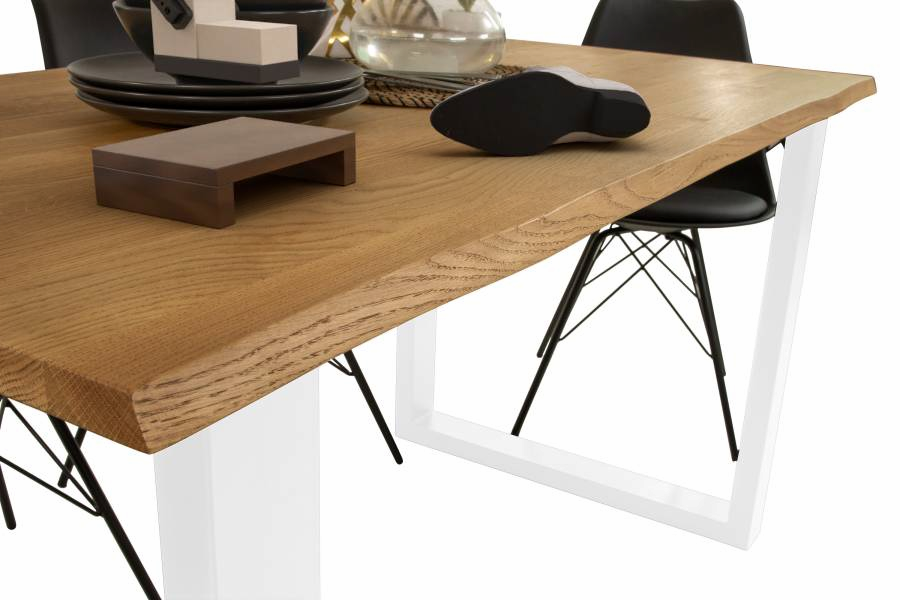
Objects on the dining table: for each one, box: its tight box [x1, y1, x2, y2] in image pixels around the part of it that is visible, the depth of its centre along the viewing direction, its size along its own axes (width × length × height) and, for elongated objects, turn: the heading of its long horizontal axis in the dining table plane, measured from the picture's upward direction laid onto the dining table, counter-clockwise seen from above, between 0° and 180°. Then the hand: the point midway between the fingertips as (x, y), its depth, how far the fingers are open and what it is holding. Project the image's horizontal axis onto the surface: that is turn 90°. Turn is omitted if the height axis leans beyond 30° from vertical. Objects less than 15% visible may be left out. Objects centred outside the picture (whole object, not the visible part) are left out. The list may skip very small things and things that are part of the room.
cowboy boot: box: [429, 65, 652, 157], centre depth 123 cm, size 10×28×25 cm
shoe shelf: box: [91, 116, 357, 230], centre depth 93 cm, size 14×20×5 cm
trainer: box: [150, 0, 301, 85], centre depth 89 cm, size 12×6×8 cm, turn 61°
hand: (209, 20), depth 89 cm, fingers closed on trainer, 5 cm apart
